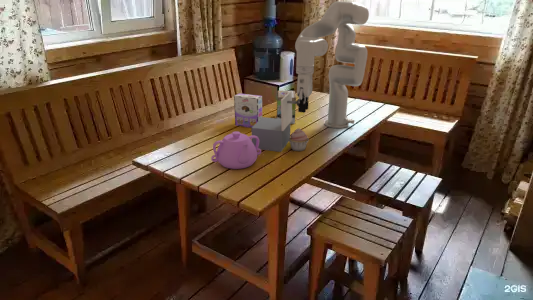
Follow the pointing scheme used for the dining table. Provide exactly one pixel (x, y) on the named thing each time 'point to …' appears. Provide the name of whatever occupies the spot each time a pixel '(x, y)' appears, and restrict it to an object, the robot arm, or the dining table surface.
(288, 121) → the lid flap
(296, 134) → the cupcake
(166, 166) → the dining table surface
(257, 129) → the carton
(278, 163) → the dining table surface
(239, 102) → the candy box
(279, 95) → the tea box
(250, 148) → the purple round pot
